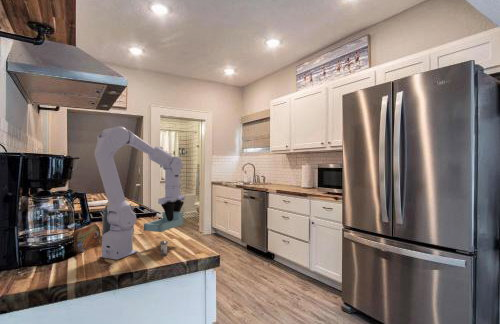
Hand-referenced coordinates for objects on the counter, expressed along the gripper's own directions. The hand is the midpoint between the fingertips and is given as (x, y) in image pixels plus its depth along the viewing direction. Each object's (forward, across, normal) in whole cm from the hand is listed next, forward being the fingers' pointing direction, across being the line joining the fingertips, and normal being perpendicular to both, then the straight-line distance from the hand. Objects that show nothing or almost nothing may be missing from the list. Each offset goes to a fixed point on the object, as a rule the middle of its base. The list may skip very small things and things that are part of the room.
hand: (172, 219), depth 116 cm
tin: (+9, -20, +24) cm, 33 cm away
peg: (+9, -15, -8) cm, 19 cm away
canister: (+9, 0, +30) cm, 31 cm away
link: (+2, -5, 0) cm, 6 cm away
